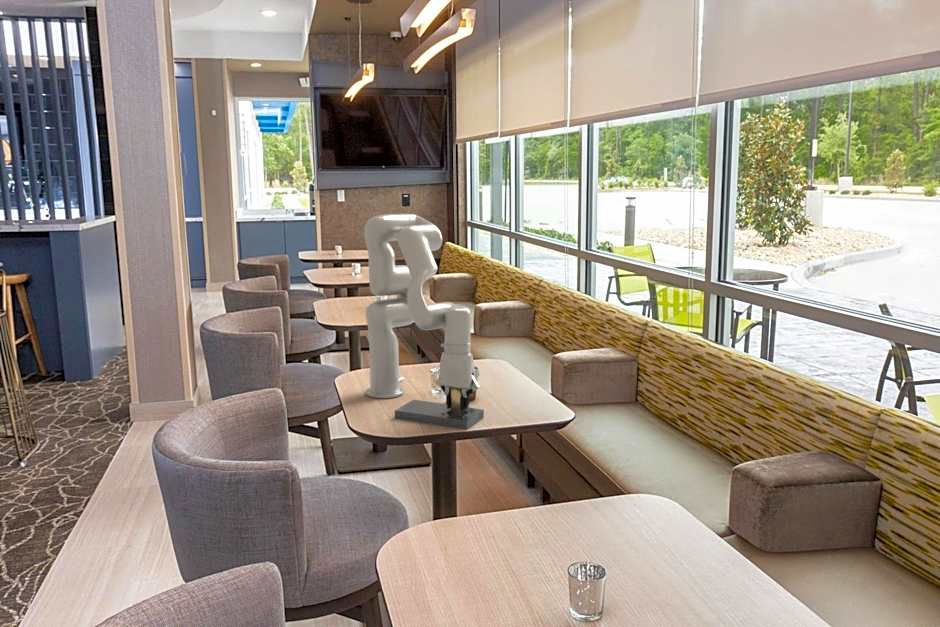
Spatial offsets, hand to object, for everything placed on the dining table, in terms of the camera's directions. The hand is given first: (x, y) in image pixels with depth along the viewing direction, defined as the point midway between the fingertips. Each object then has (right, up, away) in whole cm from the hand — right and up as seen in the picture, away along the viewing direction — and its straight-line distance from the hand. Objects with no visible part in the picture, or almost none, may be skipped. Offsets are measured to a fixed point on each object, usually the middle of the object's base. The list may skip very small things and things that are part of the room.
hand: (457, 407), depth 230 cm
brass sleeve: (0, -1, 0) cm, 1 cm away
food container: (+3, 0, +21) cm, 21 cm away
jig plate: (-5, -3, +3) cm, 7 cm away
